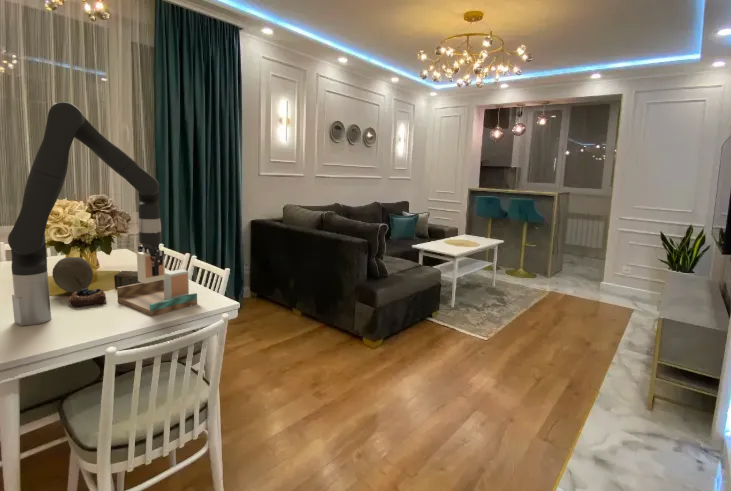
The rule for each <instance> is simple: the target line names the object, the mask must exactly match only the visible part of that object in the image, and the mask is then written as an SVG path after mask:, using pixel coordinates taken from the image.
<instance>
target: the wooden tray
mask: <svg viewBox="0 0 731 491" xmlns="http://www.w3.org/2000/svg"><path fill="white" fill-rule="evenodd" d="M116 291H117V293H116V294H117V302H118V303H120V304H122V305H125V306H127V307H129V308H132V309H134V310H136V311H138V312H141V313H143V314H145V315H148V316H150V317H154V316H159V315H162V314H165V313H169V312H173V311H176V310H181V309H184V308H188V307H191V305H192V306H195V305H198V293H196V292H193V293H189V295H185V296H181V297H177V298H173V299H169V300H165V299H164V280H159V281H155V282H150V283H145V284H144V283H137V284H132V285H127V286H122V287H117V288H116Z"/></svg>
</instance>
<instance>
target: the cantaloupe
mask: <svg viewBox="0 0 731 491" xmlns="http://www.w3.org/2000/svg"><path fill="white" fill-rule="evenodd" d="M52 278H53V281H54V283H55V285H57V287H58V288H60V289H61V290H63V291H65V292H68V293H72V294H73V293H74V292H77V291H80V290H81V289H84V288H87V289H89V287H90V286H91V283H92V281H93V278H94V271H93V268H92V267H91V265H90V263H89V262H88V261H87V260H86V259H85V258H83V257H79V256H73V257H72V256H67V257H63V258H61V259H59V260H58V261H57V262H56V263H55V265H54V267H53V268H52Z"/></svg>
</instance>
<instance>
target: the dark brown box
mask: <svg viewBox="0 0 731 491" xmlns="http://www.w3.org/2000/svg"><path fill="white" fill-rule="evenodd" d="M113 276H114V277H113V282H114V288H115V289H117V287H122V286H127V285H132V284H137V283H142V282H139V281H138V270H137V271H136V270H135V271H133V270H121V271H120V272H118V273H117V274H114V275H113Z"/></svg>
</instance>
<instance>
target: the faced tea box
mask: <svg viewBox="0 0 731 491" xmlns="http://www.w3.org/2000/svg"><path fill="white" fill-rule="evenodd" d="M189 278H190V276H189V270H186V269H183V268H181V269H176V270H171V271H165V279H164V299H165V300H169V299H173V298H177V297H181V296H185V295H189V294H190V293H189V291H190V290H189V289H190V288H189V287H190V285H189Z"/></svg>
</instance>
